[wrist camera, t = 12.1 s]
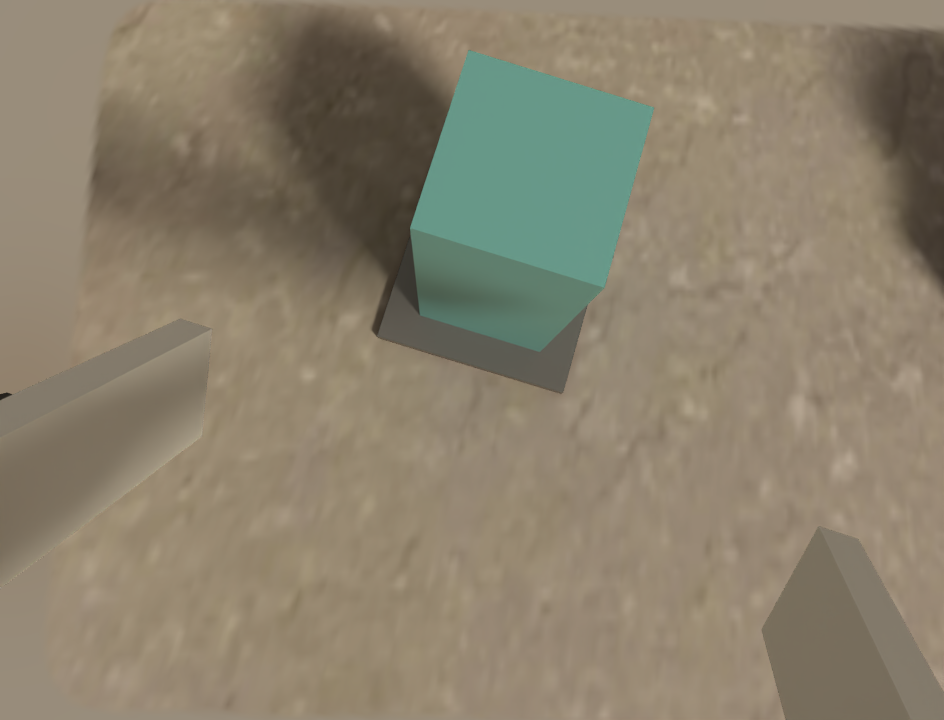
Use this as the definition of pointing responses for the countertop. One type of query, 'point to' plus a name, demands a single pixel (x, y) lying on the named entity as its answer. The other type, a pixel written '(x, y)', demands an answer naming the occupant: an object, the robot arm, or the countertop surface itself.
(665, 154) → the countertop surface
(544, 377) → the grey square base plate
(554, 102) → the tall teal pillar
